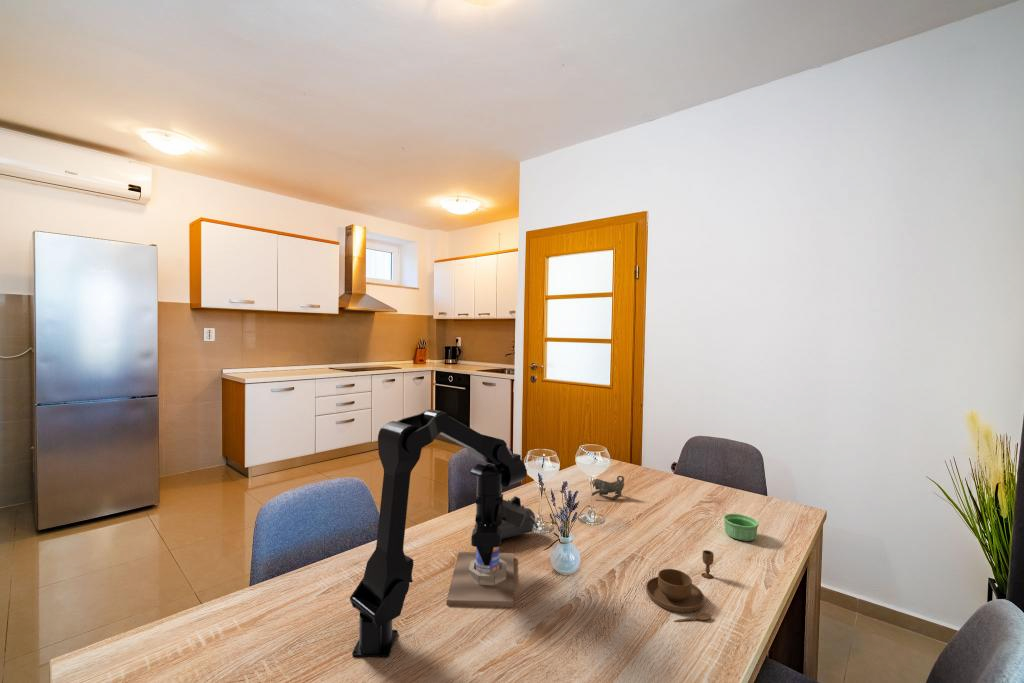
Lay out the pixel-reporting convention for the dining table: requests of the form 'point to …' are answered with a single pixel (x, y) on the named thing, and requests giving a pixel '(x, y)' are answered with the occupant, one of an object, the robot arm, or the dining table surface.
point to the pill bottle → (493, 562)
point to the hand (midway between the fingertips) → (487, 558)
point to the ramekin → (740, 526)
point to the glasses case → (512, 530)
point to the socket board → (482, 583)
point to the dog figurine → (609, 487)
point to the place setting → (679, 590)
